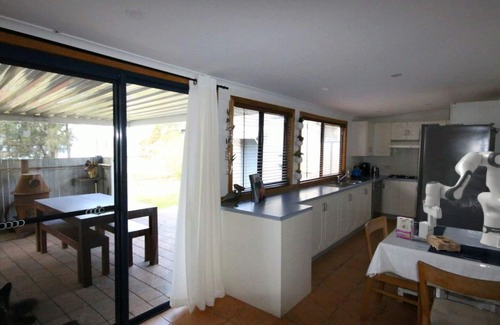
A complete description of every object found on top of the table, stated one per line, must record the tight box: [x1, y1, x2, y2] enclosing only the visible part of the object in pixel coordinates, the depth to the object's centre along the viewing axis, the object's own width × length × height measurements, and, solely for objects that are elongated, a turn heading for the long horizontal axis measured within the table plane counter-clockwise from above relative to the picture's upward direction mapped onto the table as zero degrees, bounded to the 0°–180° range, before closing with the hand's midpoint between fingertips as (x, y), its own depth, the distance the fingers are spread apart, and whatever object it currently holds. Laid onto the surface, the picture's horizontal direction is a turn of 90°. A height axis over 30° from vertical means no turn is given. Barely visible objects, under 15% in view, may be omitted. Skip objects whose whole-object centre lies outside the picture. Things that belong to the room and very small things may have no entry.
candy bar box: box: [396, 216, 415, 241], centre depth 213 cm, size 11×5×16 cm, turn 37°
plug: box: [427, 213, 437, 228], centre depth 198 cm, size 4×4×10 cm
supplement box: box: [418, 220, 435, 240], centre depth 213 cm, size 7×7×13 cm
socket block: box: [425, 235, 461, 253], centre depth 195 cm, size 14×18×5 cm
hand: (432, 221), depth 198 cm, fingers closed on plug, 4 cm apart
